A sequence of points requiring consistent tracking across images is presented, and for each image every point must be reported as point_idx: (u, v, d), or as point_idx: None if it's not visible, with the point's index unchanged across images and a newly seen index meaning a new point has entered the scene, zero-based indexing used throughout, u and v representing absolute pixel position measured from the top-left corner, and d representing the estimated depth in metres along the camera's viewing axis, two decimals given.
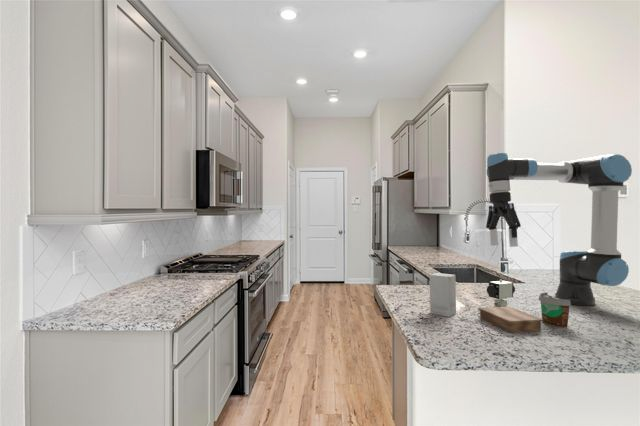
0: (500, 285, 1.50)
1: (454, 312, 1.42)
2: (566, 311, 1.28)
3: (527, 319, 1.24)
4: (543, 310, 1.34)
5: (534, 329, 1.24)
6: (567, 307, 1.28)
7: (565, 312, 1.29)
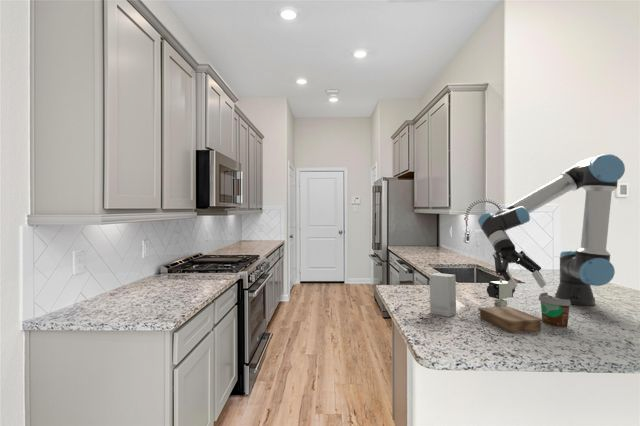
0: (500, 285, 1.50)
1: (454, 312, 1.42)
2: (566, 311, 1.28)
3: (527, 319, 1.24)
4: (543, 310, 1.34)
5: (534, 329, 1.24)
6: (567, 307, 1.28)
7: (565, 312, 1.29)
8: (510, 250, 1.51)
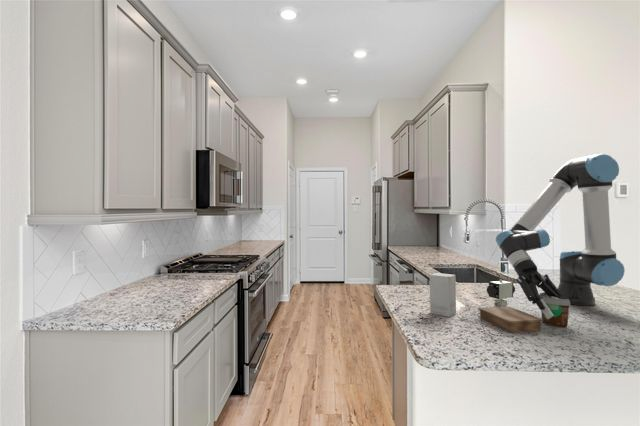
0: (500, 285, 1.50)
1: (454, 312, 1.42)
2: (565, 310, 1.28)
3: (527, 319, 1.24)
4: None
5: (534, 329, 1.24)
6: (567, 307, 1.28)
7: (565, 312, 1.29)
8: (532, 271, 1.42)
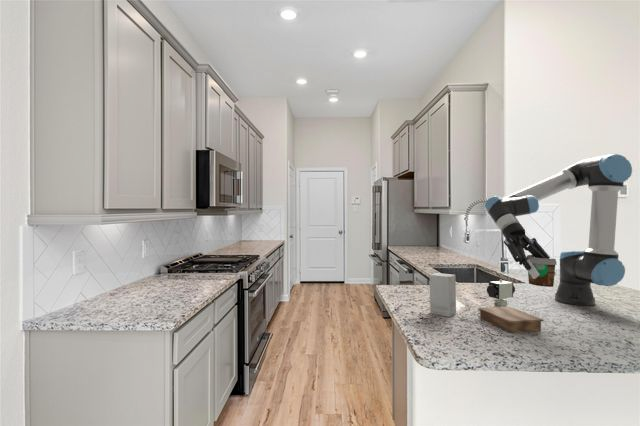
0: (500, 285, 1.50)
1: (454, 312, 1.42)
2: (551, 270, 1.28)
3: (527, 319, 1.24)
4: None
5: (534, 329, 1.24)
6: (553, 266, 1.28)
7: (551, 271, 1.28)
8: (520, 234, 1.41)
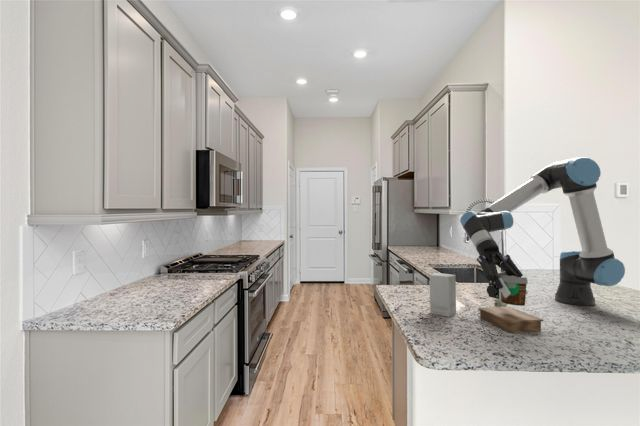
0: None
1: (454, 312, 1.42)
2: (523, 289, 1.26)
3: (527, 319, 1.24)
4: None
5: (534, 329, 1.24)
6: (524, 285, 1.26)
7: (522, 290, 1.27)
8: (493, 251, 1.40)
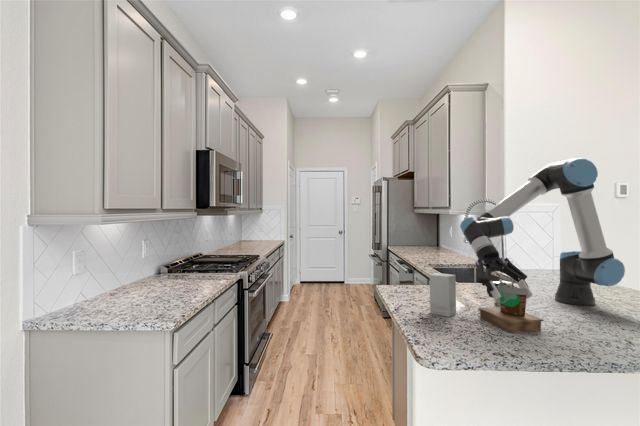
0: None
1: (454, 312, 1.42)
2: (523, 300, 1.27)
3: (527, 319, 1.24)
4: (501, 300, 1.32)
5: (534, 329, 1.24)
6: (524, 296, 1.27)
7: (523, 301, 1.27)
8: (494, 257, 1.40)
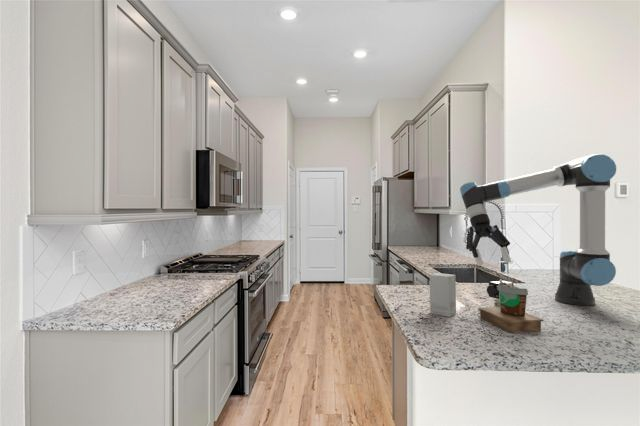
0: None
1: (454, 312, 1.42)
2: (523, 300, 1.27)
3: (527, 319, 1.24)
4: (501, 300, 1.32)
5: (534, 329, 1.24)
6: (524, 296, 1.27)
7: (523, 301, 1.27)
8: (484, 224, 1.56)
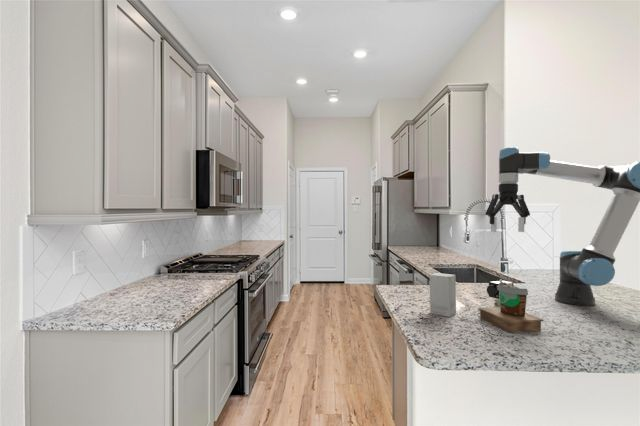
0: None
1: (454, 312, 1.42)
2: (523, 300, 1.27)
3: (527, 319, 1.24)
4: (501, 300, 1.32)
5: (534, 329, 1.24)
6: (524, 296, 1.27)
7: (523, 301, 1.27)
8: (511, 193, 1.59)
